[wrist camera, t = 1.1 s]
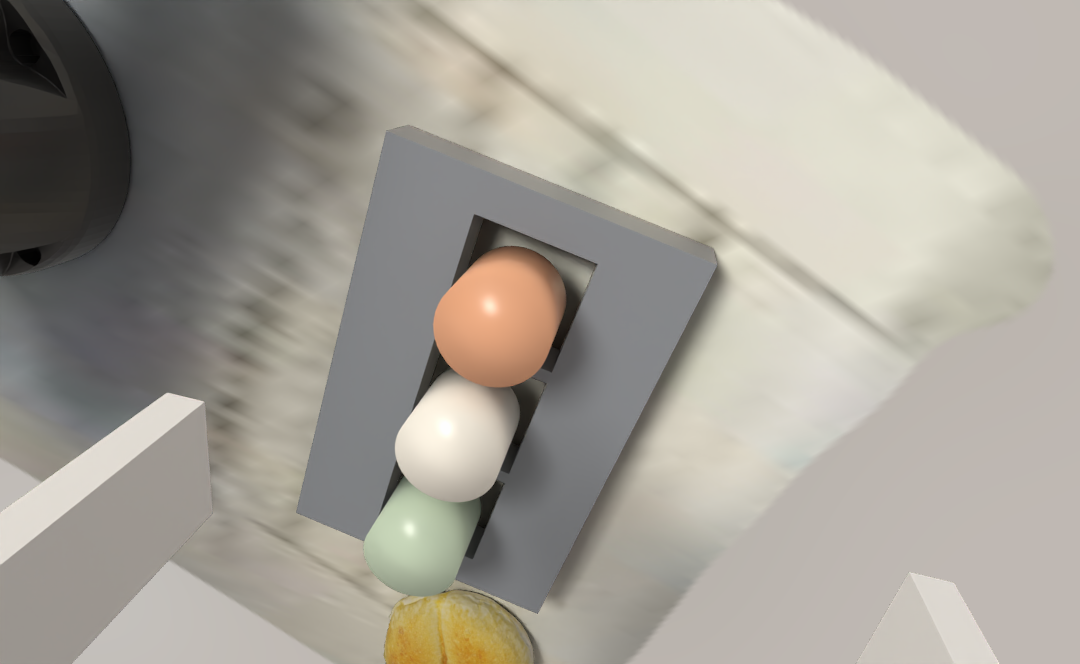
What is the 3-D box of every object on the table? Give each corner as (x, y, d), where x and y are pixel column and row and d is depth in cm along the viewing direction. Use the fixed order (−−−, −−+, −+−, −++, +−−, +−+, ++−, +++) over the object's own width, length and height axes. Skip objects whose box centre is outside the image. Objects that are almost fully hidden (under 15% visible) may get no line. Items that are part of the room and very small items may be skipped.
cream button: (417, 427, 30) (383, 477, 27) (442, 351, 28) (409, 394, 25) (502, 462, 30) (480, 517, 27) (533, 388, 28) (513, 436, 25)
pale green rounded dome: (388, 516, 33) (354, 573, 29) (409, 452, 31) (375, 504, 27) (466, 549, 33) (442, 610, 29) (492, 486, 31) (469, 543, 27)
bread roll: (542, 686, 40) (529, 749, 36) (408, 673, 41) (383, 731, 38) (529, 585, 37) (514, 643, 33) (385, 575, 38) (356, 629, 35)
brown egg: (452, 321, 28) (420, 360, 24) (481, 229, 26) (452, 257, 22) (545, 359, 28) (527, 404, 24) (581, 270, 26) (568, 305, 22)
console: (318, 485, 36) (296, 512, 34) (408, 125, 27) (386, 130, 25) (545, 580, 36) (537, 613, 34) (713, 248, 27) (717, 264, 25)
